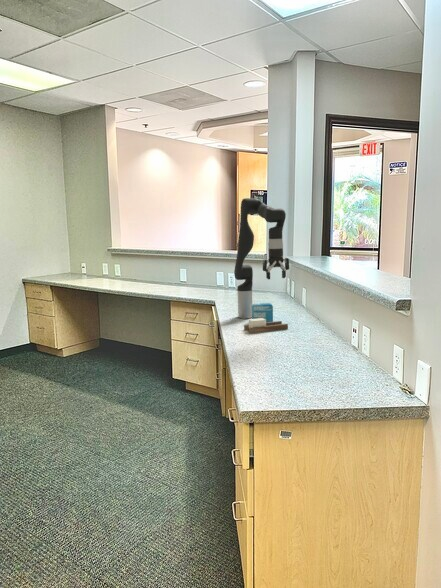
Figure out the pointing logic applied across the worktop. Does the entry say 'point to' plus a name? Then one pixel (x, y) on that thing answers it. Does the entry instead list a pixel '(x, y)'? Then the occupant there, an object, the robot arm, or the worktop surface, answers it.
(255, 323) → the sand block
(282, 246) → the robot arm
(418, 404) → the worktop surface
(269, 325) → the walnut chute
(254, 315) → the blue labeled box
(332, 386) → the worktop surface
